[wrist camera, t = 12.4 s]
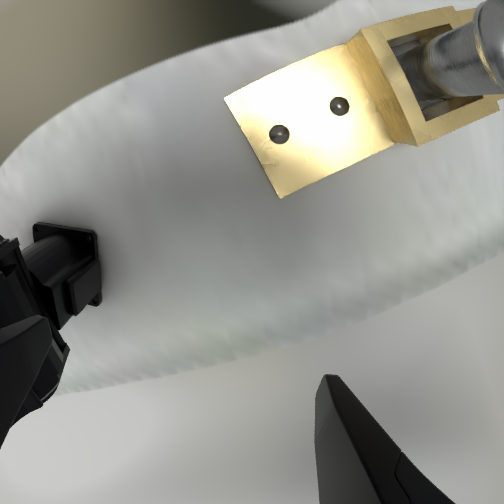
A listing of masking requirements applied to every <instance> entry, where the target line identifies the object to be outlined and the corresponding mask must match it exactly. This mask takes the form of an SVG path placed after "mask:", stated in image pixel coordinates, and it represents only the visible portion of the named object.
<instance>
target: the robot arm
mask: <svg viewBox="0 0 504 504" xmlns="http://www.w3.org/2000/svg"><path fill="white" fill-rule="evenodd" d="M37 227H38V228H37ZM38 229H39V230H38ZM89 236H90V237H91V239H89ZM33 238H34V243H33V244H31V245H30V246H28V247H27V248H25V249H24V250H22V251H21V250H20V248H19V245H20V244H19V241H18V239H17V237H16V238H14V239H11V240H9V239H4V238H3V237H2V236H1V235H0V449H1V446H2V444H3V442H4V440H5V437H6V435H7V433H8V431H9V429H10V428H11V427H12V426H13V425H14V424H15V423H16V422H17V421H18V420H20V419H21V418H22V417H24V416H25V415H27V414H28V413H30V412H32V411H34V410H36V409H39V408H41V407H42V406H43V403H44V402H46V401H47V400H48V399H49V398H50V397H51V396H52V395H53V394H54V392H55V391H56V389H57V387H58V385H59V382H60V378H61V375H62V372H63V369H64V366H65V363H66V360H67V357H68V354H69V351H70V348H69V347H68V345H67V343H65V342H64V340H63V339H62V337H61V335H60V333H59V331H58V330H60V329H61V328H62V327H63V326H64V325H65V324H66V322H67V321H68V320H69V319H70V318H71V317H72V316H77V315H78V314H79V313H80V312H81V311H82V310H83V309H84V307H85V306H86V305H91V306H95V307H97V306H99V305H100V304H101V302H102V298H101V288H102V287H101V277H100V264H99V260H98V253H97V237H96V234H95V233H94V232H93V231H91V230H85V229H79V228H73V227H66V226H60V225H54V224H47V223H41V222H37V223H35V224H34V225H33ZM95 299H96V300H97V301H95ZM315 453H316V465H317V476H318V487H319V501H320V504H455V503H454V502H453V501H452V500H451V499H449V498H448V497H447V496H446V495H445V494H444V493H443V492H442V491H441V490H439V489H438V488H437V487H436V486H435V485H434V484H433V483H432V482H431V481H430V480H429V479H428V478H426V477H425V476H424V475H423V474H422V473H421V472H420V471H419V470H418V469H417V467H416V466H415V465H414V464H413V463H412V462H411V461H410V460H409V459H408V457H407V456H406V455H405V454H404V453H403V452H401V449H400V448H399V447H398V446H397V445H396V443H395V442H394V441H393V440H392V439H391V438H390V436H389V435H388V434H387V433H386V432H385V430H384V429H383V428H382V427H381V426H380V425H379V423H378V422H377V421H376V420H375V419H374V417H373V416H372V415H371V414H370V413H369V412H368V410H367V409H366V408H365V407H364V406H363V405H362V403H361V402H360V401H359V400H358V398H357V397H356V396H355V395H354V394H353V392H352V391H351V390H350V389H349V388H348V386H347V385H346V384H345V383H344V382H343V381H342V379H341V378H340V377H339V376H338V375H332V374H325V375H324V376H323V378H322V380H321V383H320V385H319V388H318V390H317V393H316V398H315Z"/></svg>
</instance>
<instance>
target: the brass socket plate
mask: <svg viewBox="0 0 504 504" xmlns="http://www.w3.org/2000/svg"><path fill="white" fill-rule="evenodd" d="M475 10H476V8H474V9H468V10H462V11H455V9H454V7H453V6H449V7H443V8H438V9H433V10H429V11H424V12H420V13H416V14H411V15H407V16H404V17H400V18H396V19H392V20H389V21H385V22H382V23H379V24H375V25H372V26H369V27H366V28H363V29H360V30H359V31H358V32H357V33H356V34H355V35H354V37H353V38H352V39H351V40H350V41H349V42H348V43H347V44H346V45H345V46H344V45H343V44H340V45H337V46H335V47H332V48H329V49H327V50H324V51H322V52H319V53H317V54H314V55H312V56H310V57H307V58H305V59H303V60H300V61H298V62H296V63H293V64H291V65H289V66H287V67H285V68H282V69H280V70H278V71H276V72H274V73H272V74H270V75H268V76H266V77H264V78H262V79H260V80H258V81H256V82H254V83H252V84H250V85H248V86H246V87H244V88H242V89H240V90H238V91H236V92H234V93H232V94H231V95H229V96H227V97H225V98H224V99H225V101H226V103H227V105H228V106H229V108H230V110H231V111H232V113H233V115H234V117H235V118H236V120H237V122H238V124H239V125H240V127H241V129H242V131H243V132H244V134H245V136H246V138H247V140H248V141H249V143H250V145H251V147H252V148H253V150H254V152H255V154H256V156H257V158H258V159H259V161H260V163H261V165H262V167H263V168H264V170H265V172H266V174H267V176H268V178H269V180H270V181H271V183H272V185H273V187H274V189H275V191H276V193H277V194H278V196H279V198H280V199H281V198H283V197H285V196H287V195H289V194H291V193H293V192H295V191H297V190H299V189H301V188H303V187H305V186H307V185H309V184H311V183H314V182H316V181H318V180H320V179H322V178H324V177H326V176H328V175H330V174H332V173H334V172H336V171H339V170H341V169H343V168H345V167H347V166H349V165H351V164H353V163H356V162H358V161H360V160H362V159H364V158H366V157H368V156H371V155H373V154H375V153H377V152H379V151H381V150H384V149H386V148H388V147H390V146H392V145H394V144H393V142H396V143H402V144H407V145H413V146H420V145H422V144H425V143H427V142H429V141H431V140H433V139H436V138H438V137H440V136H442V135H445V134H447V133H449V132H451V131H454V130H456V129H458V128H460V127H463V126H465V125H467V124H469V123H472V122H474V121H476V120H479V119H481V118H483V117H485V116H488V115H490V114H492V113H495V112H497V111H499V110H500V109H499V106H498V103H497V100H500V99H502V98H504V94H494V95H476V96H463V97H452V98H446V101H443V102H441V103H438V104H436V105H433V106H431V107H428V108H426V109H423V110H421V109H420V107H419V105H418V102H417V100H416V98H415V96H414V93H413V91H412V89H411V87H410V85H409V83H408V81H407V79H406V77H405V74H404V72H403V70H402V69H401V67H400V65H399V63H398V61H397V59H396V57H395V55H394V53H393V51H392V50H391V47H394V46H397V45H400V44H404V43H407V42H410V41H413V40H417V39H418V41H419V43H420V45H421V44H423V43H425V42H427V41H429V40H431V39H433V38H435V37H437V36H439V35H442V34H444V33H446V32H448V31H450V30H453V29H455V28H457V27H459V26H462V25H464V24H466V23H469V22H471V21H473V15H474V12H475Z"/></svg>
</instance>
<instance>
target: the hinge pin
mask: <svg viewBox="0 0 504 504" xmlns="http://www.w3.org/2000/svg"><path fill="white" fill-rule="evenodd" d="M396 59H397V61H398V63H399V65H400V67H401V69H402V70H403V72H404V74H405V77H406V79H407V81H408V83H409V85H410V87H411V89H412V91H413V93H414V96H415V98H416V100H417V102H418V101H425V100H434V99H442V98H452V97H463V96H476V95H494V94H504V0H486V1H484V2H482V3H480V4H479V5H478V6H477V8H476V10H475V12H474V15H473V21H471V22H469V23H466V24H464V25H462V26H459V27H457V28H455V29H453V30H450V31H448V32H446V33H444V34H442V35H439V36H437V37H435V38H433V39H431V40H429V41H427V42H425V43H423V44H421V45H419V46H417V47H415V48H413V49H411V50H409V51H407V52H405V53H403V54H401V55H399V56H397V57H396Z"/></svg>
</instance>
